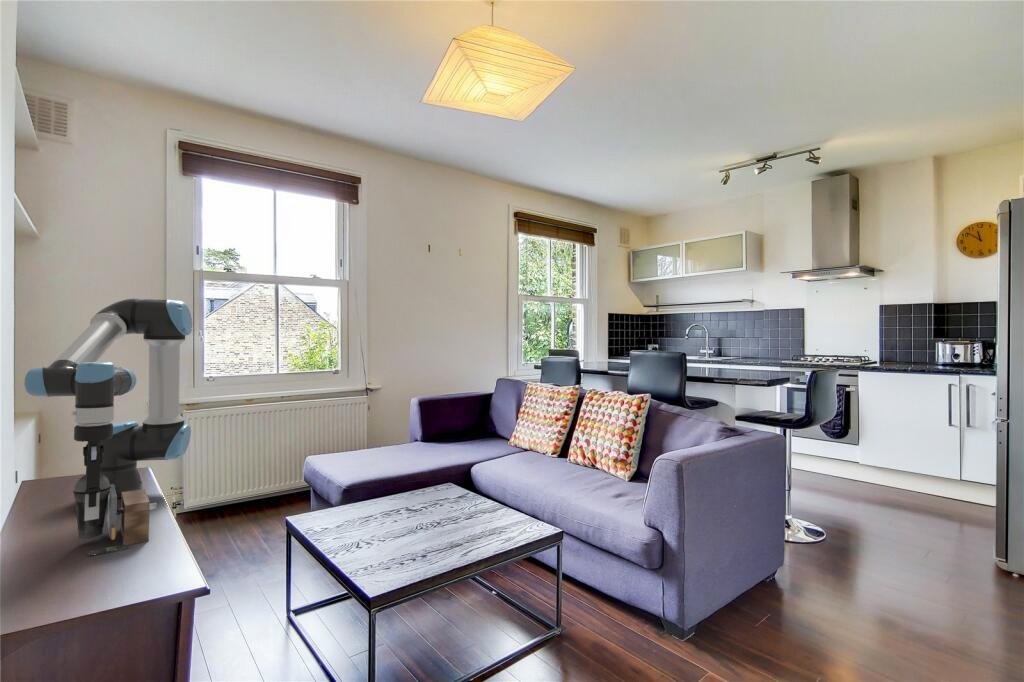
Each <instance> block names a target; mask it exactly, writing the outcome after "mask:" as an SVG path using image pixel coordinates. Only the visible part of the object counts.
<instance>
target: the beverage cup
mask: <svg viewBox="0 0 1024 682" xmlns="http://www.w3.org/2000/svg"><path fill="white" fill-rule="evenodd" d="M86 478H87V474H86V473H85V475H82V477H80V478H78V480H77V481H76V483H75V485H74V487H73V491H72V493H73V497H74V500H75V510H76V521H77V533H78V538H79V539H80V540H81V539H82V540H86V539H87V540H88V539H93V538H97V537H100V536H101V535H103V530H104V524H105V518H106V511H107V506H108V499H107V498H108V495H109V491H110V488H111V487H110V482H109V480H108V478H107V477H106V476H105V475H103V474H101V473H100V491H99V492H100V497H99V519H94V520H88V521H84V519H85V495H82V492H85V491H86ZM90 488H93V487H90Z"/></svg>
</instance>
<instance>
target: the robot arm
mask: <svg viewBox="0 0 1024 682" xmlns="http://www.w3.org/2000/svg"><path fill="white" fill-rule="evenodd" d="M191 313H192V312H191V311H190V309H189V306H188V305H187V303H185V302H184V301H181V300H173V299H153V298H152V299H151V298H149V299H148V298H126V299H123V300H122V299H121V300H119V301H117V302H113V303H111V304H109V305H108V306H105V307H103V308H102V309H101V310H99V311H98V312H97V313H96V314H95V315H93V317H92V318H91V319H90V321H89V326H88V327H87V328H86V329H85V330H84V331H83V332H81V334H80V335H79V336H78V337H77V338H76V339H75V340H74V341H73V342H72V343H70V345H68V347H67V348H65V350H64V351H62V353H61V354H60V355H59V356H58V357H57V358H56V359H55V360H54V361H53V362H52V363H51V364H50V365H49V366H48V367H45V366H41V367H34V368H31V369H30V370H28V371H27V373H26V374H25V377H24V383H23V384H24V388H25V391H26V392H27V393H28V395H30V396H32V397H33V396H34V397H45V398H46V397H47V398H50V397H74V399H75V402H74V403H75V405H74V408H75V411H72V412H71V416H74V423H75V424H77V425H75V426H74V427H73V429H74V431H73V440H74V441H75V442H81V443H82V442H86V444H85V446H83V448H82V455H83V465H84V466H85V475H86V474H87V478H86V491H85V492H82V495H85V519H84V521H88V520H94V519H99V497H100V492H99V491H100V473H101V474H103V475H105V476H106V477H107V478H108V480H109V482H110V484H114V485H115V490H116V494H117V499H121V498H120V497H121V495H122V492H126V491H134V490H141V489H144V488H143V487H144V486H143V481H142V479H141V476H140V472H139V469H138V466H137V465H138V462H142V461H143V462H144V461H146V462H147V461H169V460H177V459H179V460H180V458H182V457H183V456H184V455H185V454H186V452H187V450H188V448H189V444H190V442H191V441H190V440H191V436H192V429H191V426H190V425H189V424H188V423H185V418H184V417H183V416H182V415H181V414H180V377H181V376H180V373H181V372H180V367H181V365H180V364H181V362H180V361H181V360H180V358H181V354H180V353H181V344H183V343H184V342H185V341H186V336H189V335H190V334H191V333H192V331H193V329H192V328H193V319H192V314H191ZM131 334H134V335H135V334H136V335H139V334H140V335H143V341H144V342H145V343H147V344H148V409H147V410H148V412H147V413H148V416H147V417H145V419H144V420H142V425H139V422H138V421H137V420H132V421H131V420H129V421H121V422H114V423H112V422H113V421H114V417H115V415H114V414H115V413H114V411H115V406H114V404H115V403H114V402H115V399H114V398H115V397H117V396H123V395H126V394H127V393H130V392H131V391H132V390H133V389H134V388H135V387H136V385H137V377H136V374H135V373H134V372H133V371H132V370H130V369H129V368H126V367H121V366H120V367H117V366H115V364H114V363H113V362H110V361H104V362H103V361H98V360H100V358H101V357H102V356H103V355H104V354H105V353H106V351H108V349H109V348H110V347H111V346H112V345H113V344H114V342H115V341H117V340H120V339H121V338H123V337H124V336H126V335H131ZM90 487H93V488H90ZM107 500H108V498H107Z"/></svg>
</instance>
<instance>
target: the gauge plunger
mask: <svg viewBox="0 0 1024 682" xmlns="http://www.w3.org/2000/svg"><path fill="white" fill-rule="evenodd" d="M110 487H111V488H110V491H109V495H108V499H107V519H106V520H107V523H106V524H107V529H108V535H109V537H108V538H109V539H111V540H112V541H113V540H115V539H116V537H117V516H121V514H123V508H121V507H119V508H118V498H117V494H116V490H115V485H114V484H110ZM157 508H158V503H157V502H152V503H150V509H149V511H151V510H156V509H157Z"/></svg>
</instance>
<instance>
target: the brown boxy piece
mask: <svg viewBox="0 0 1024 682" xmlns="http://www.w3.org/2000/svg"><path fill="white" fill-rule="evenodd" d="M120 501H121V502H120V503H121V504H120V508H123V514H120V534H121V537H122V544H121V545H114V546H110V547H109V546H108V547H106V548H101V549H96V550H95V549H94V550H91V551H88V557H91V556H90V555H94V554H99V555H101V554H100V553H104V554H107V553H106V552H109V553H112V552H111V551H114V552H119V551H118V550H120V551H124V550H123V549H125V550H128V546H130V545H134V544H135V543H136V544H140V542H141V543H144V541H146V542H149V539H150V534H149V533H150V510H149V509H150V499H149V497H148V495H147V492H146V490H145V488H142V489H141V490H134V491H126V492H122V495H121V498H120ZM94 556H95V555H94Z"/></svg>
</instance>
